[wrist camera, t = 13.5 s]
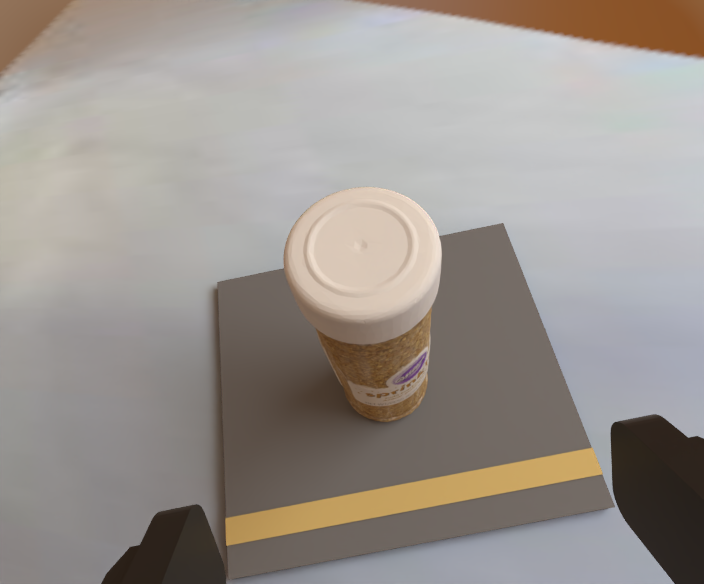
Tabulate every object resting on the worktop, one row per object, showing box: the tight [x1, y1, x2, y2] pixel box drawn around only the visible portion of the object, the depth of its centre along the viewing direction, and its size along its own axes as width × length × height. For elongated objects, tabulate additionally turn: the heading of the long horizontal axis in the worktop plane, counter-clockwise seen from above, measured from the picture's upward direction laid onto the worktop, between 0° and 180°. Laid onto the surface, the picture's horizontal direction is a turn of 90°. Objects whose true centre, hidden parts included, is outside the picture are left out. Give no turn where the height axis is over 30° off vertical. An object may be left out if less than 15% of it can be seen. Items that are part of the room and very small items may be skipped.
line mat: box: [218, 223, 615, 580], centre depth 25 cm, size 18×16×1 cm
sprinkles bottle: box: [284, 187, 442, 422], centre depth 19 cm, size 5×5×13 cm
